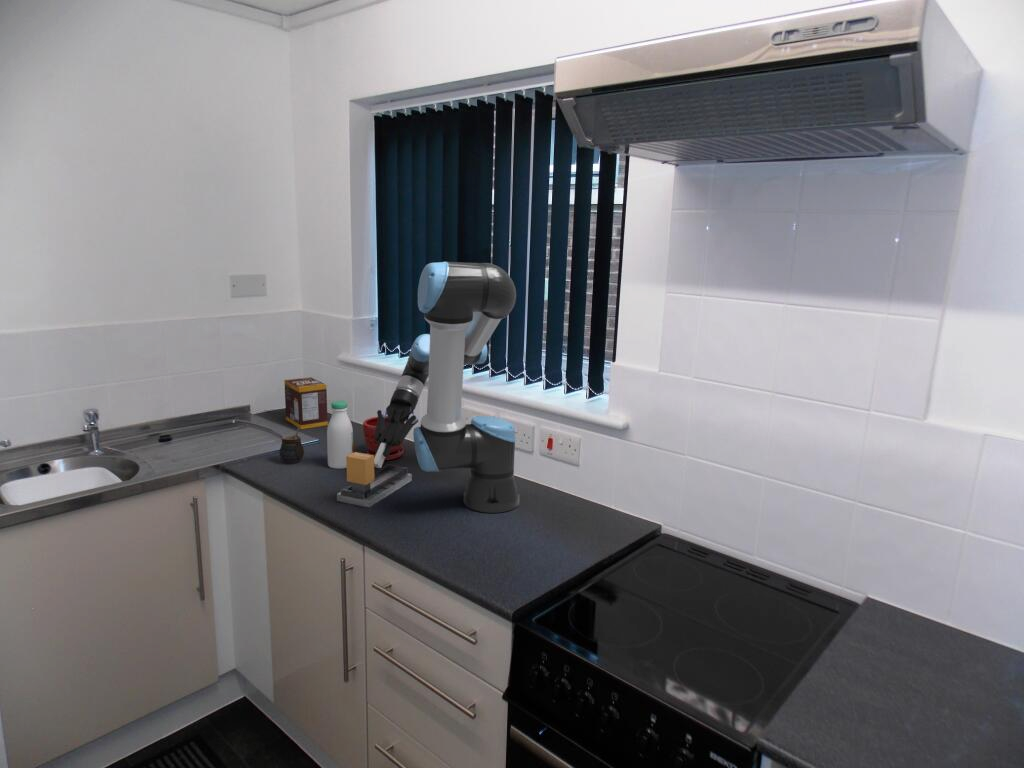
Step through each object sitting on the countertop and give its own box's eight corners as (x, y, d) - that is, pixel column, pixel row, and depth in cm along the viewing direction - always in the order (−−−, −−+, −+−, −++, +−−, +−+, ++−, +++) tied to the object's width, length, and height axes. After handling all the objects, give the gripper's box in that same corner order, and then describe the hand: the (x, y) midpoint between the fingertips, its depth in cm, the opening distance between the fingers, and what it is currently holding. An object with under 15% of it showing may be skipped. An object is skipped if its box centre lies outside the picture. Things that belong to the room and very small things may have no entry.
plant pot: (399, 448, 224) (399, 413, 221) (409, 460, 212) (409, 424, 209) (360, 451, 219) (359, 416, 216) (367, 464, 207) (367, 427, 204)
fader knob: (356, 486, 183) (355, 451, 180) (374, 490, 180) (374, 454, 178) (347, 491, 179) (346, 455, 177) (366, 495, 177) (365, 459, 175)
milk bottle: (350, 469, 202) (348, 405, 197) (324, 468, 202) (322, 405, 198) (356, 461, 209) (355, 399, 205) (332, 460, 209) (330, 398, 205)
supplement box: (311, 415, 258) (310, 376, 255) (328, 425, 247) (327, 384, 243) (285, 419, 252) (283, 379, 249) (300, 429, 240) (299, 387, 237)
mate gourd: (275, 464, 204) (273, 432, 202) (287, 456, 212) (286, 426, 210) (296, 466, 203) (295, 434, 201) (308, 458, 211) (307, 428, 208)
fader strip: (382, 474, 199) (382, 463, 198) (413, 480, 195) (413, 468, 194) (335, 501, 178) (335, 488, 178) (368, 508, 175) (368, 495, 174)
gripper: (430, 404, 198) (401, 475, 186) (392, 398, 202) (362, 468, 191) (422, 390, 192) (391, 463, 180) (382, 385, 196) (350, 456, 185)
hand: (376, 465), depth 186 cm, fingers closed
